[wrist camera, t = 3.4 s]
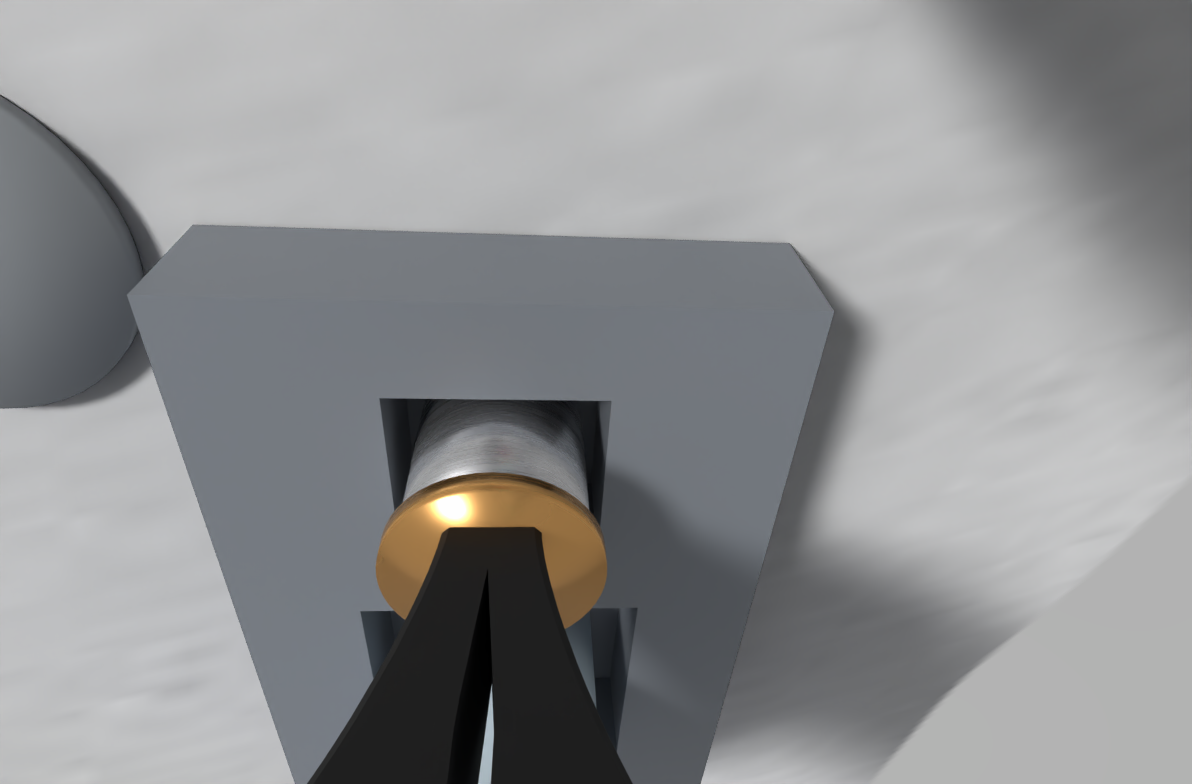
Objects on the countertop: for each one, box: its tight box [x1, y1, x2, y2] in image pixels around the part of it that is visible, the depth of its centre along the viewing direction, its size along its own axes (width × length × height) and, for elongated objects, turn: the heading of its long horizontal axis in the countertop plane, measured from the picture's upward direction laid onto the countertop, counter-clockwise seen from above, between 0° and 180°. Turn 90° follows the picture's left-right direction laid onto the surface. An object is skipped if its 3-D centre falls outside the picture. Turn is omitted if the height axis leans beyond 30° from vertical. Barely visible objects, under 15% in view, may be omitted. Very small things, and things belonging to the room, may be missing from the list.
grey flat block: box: [127, 225, 834, 784], centre depth 16 cm, size 14×10×2 cm
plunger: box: [376, 399, 607, 629], centre depth 12 cm, size 3×3×4 cm
